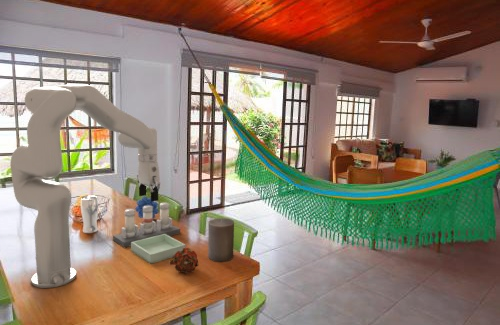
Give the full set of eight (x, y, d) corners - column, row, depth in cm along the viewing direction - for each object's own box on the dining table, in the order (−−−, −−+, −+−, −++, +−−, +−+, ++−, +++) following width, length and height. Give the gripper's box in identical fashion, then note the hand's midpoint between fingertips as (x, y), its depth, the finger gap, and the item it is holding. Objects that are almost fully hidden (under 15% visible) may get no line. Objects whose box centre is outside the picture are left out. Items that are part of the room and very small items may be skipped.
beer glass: (92, 234, 155) (91, 200, 152) (78, 232, 156) (76, 198, 153) (102, 229, 161) (101, 196, 159) (88, 227, 163) (87, 194, 160)
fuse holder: (180, 233, 161) (180, 220, 160) (124, 247, 142) (123, 232, 141) (168, 226, 168) (168, 214, 167) (113, 240, 149) (112, 226, 148)
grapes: (139, 225, 168) (139, 200, 166) (133, 221, 173) (133, 196, 171) (162, 220, 176) (162, 196, 174) (156, 217, 181) (156, 193, 179)
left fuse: (136, 236, 149) (136, 210, 147) (127, 238, 146) (127, 212, 145) (132, 233, 152) (132, 208, 150) (123, 235, 149) (122, 209, 147)
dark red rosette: (191, 283, 120) (176, 274, 130) (209, 263, 124) (193, 256, 133) (176, 266, 117) (161, 258, 127) (194, 246, 121) (179, 240, 130)
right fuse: (170, 228, 160) (170, 204, 158) (162, 230, 157) (162, 205, 156) (165, 225, 163) (166, 202, 161) (157, 227, 160) (158, 203, 158)
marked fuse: (154, 232, 155) (154, 207, 153) (145, 234, 152) (145, 208, 150) (149, 229, 157) (149, 205, 156) (141, 231, 155) (141, 206, 153)
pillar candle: (238, 255, 140) (239, 217, 137) (223, 264, 131) (224, 224, 129) (217, 249, 145) (218, 213, 142) (202, 257, 136) (202, 219, 134)
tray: (185, 253, 140) (185, 244, 139) (150, 263, 129) (150, 254, 129) (164, 241, 150) (164, 233, 149) (131, 250, 140) (130, 242, 139)
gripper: (167, 160, 146) (167, 201, 149) (145, 154, 158) (146, 192, 161) (150, 162, 141) (150, 204, 144) (129, 155, 153) (130, 195, 156)
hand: (148, 198), depth 153 cm, fingers open, 9 cm apart
